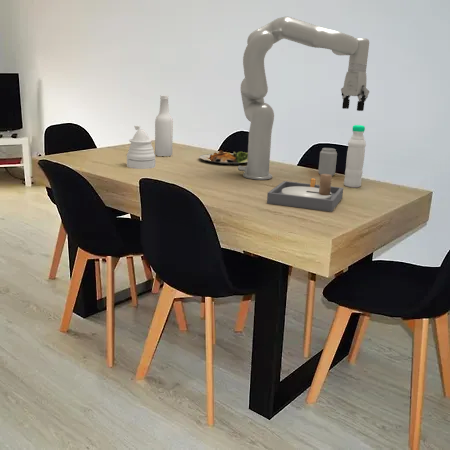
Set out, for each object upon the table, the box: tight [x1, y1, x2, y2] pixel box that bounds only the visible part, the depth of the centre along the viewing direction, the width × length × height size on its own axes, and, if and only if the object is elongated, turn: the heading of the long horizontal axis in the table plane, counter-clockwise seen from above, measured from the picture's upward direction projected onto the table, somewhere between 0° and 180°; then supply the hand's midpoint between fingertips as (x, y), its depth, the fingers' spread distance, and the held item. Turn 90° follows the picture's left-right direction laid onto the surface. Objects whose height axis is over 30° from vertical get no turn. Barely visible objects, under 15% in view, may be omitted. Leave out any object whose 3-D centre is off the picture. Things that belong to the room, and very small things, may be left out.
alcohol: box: [154, 94, 174, 157], centre depth 276 cm, size 9×9×30 cm
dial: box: [282, 174, 333, 200], centre depth 200 cm, size 18×18×8 cm
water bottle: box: [343, 124, 367, 189], centre depth 225 cm, size 7×7×25 cm
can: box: [317, 147, 338, 177], centre depth 248 cm, size 8×8×12 cm
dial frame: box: [266, 178, 344, 212], centre depth 201 cm, size 23×23×6 cm
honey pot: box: [126, 125, 156, 170], centre depth 248 cm, size 13×13×18 cm
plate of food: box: [198, 150, 248, 165], centre depth 273 cm, size 28×28×6 cm
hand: (352, 109), depth 239 cm, fingers open, 9 cm apart
